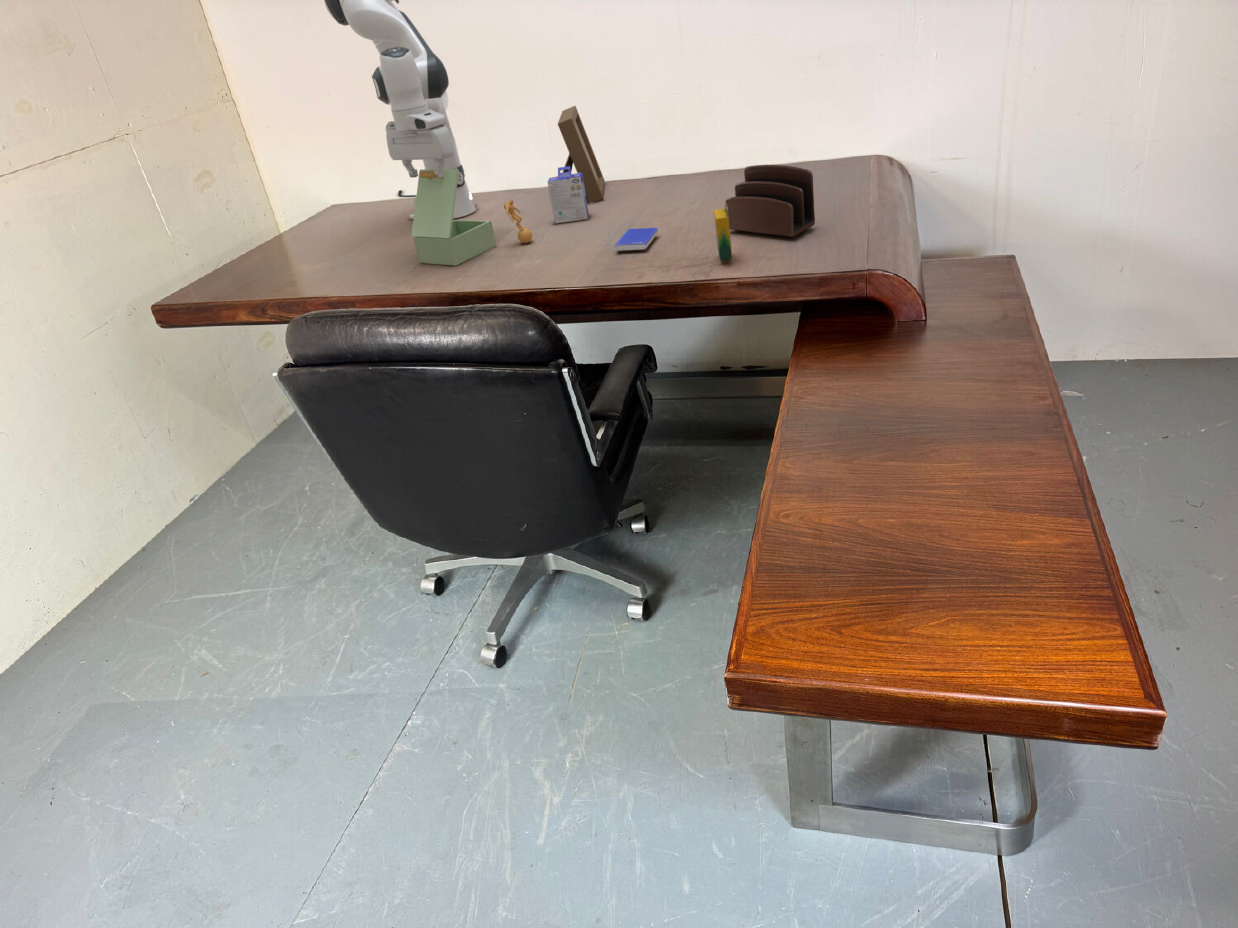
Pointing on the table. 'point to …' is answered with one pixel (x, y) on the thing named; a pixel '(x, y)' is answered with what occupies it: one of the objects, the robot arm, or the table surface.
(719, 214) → the crayon box
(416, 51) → the robot arm
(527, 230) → the figurine
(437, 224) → the chest lid
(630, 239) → the hard drive
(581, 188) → the ink cartridge box
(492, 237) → the chest
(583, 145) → the photo frame
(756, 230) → the letter holder
